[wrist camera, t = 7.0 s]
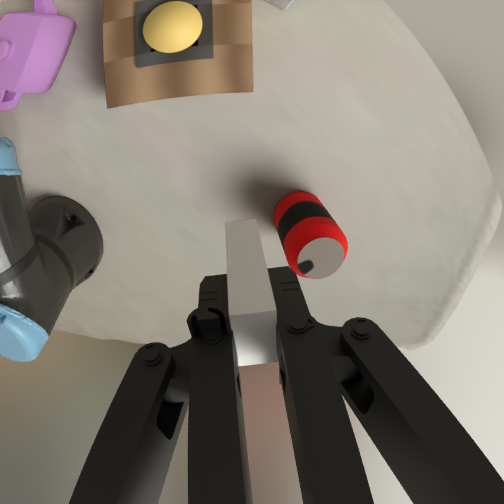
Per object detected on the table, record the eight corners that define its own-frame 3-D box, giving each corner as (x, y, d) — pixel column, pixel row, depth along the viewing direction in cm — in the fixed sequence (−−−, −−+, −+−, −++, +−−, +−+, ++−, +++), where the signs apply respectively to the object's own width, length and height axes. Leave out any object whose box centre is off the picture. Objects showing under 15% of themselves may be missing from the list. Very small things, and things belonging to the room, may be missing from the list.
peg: (160, 62, 30) (143, 56, 23) (159, 21, 27) (142, 6, 20) (207, 56, 31) (202, 48, 24) (206, 15, 28) (201, -3, 20)
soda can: (264, 207, 43) (277, 250, 32) (310, 181, 41) (338, 217, 31) (287, 245, 46) (305, 294, 36) (330, 222, 45) (359, 266, 35)
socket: (126, 104, 33) (105, 109, 26) (122, -2, 24) (102, -17, 18) (248, 91, 34) (254, 92, 27) (245, -18, 25) (250, -39, 19)
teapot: (45, -9, 20) (7, -20, 11) (96, -1, 23) (62, -19, 15) (2, 98, 28) (-40, 109, 19) (47, 113, 31) (6, 126, 22)
